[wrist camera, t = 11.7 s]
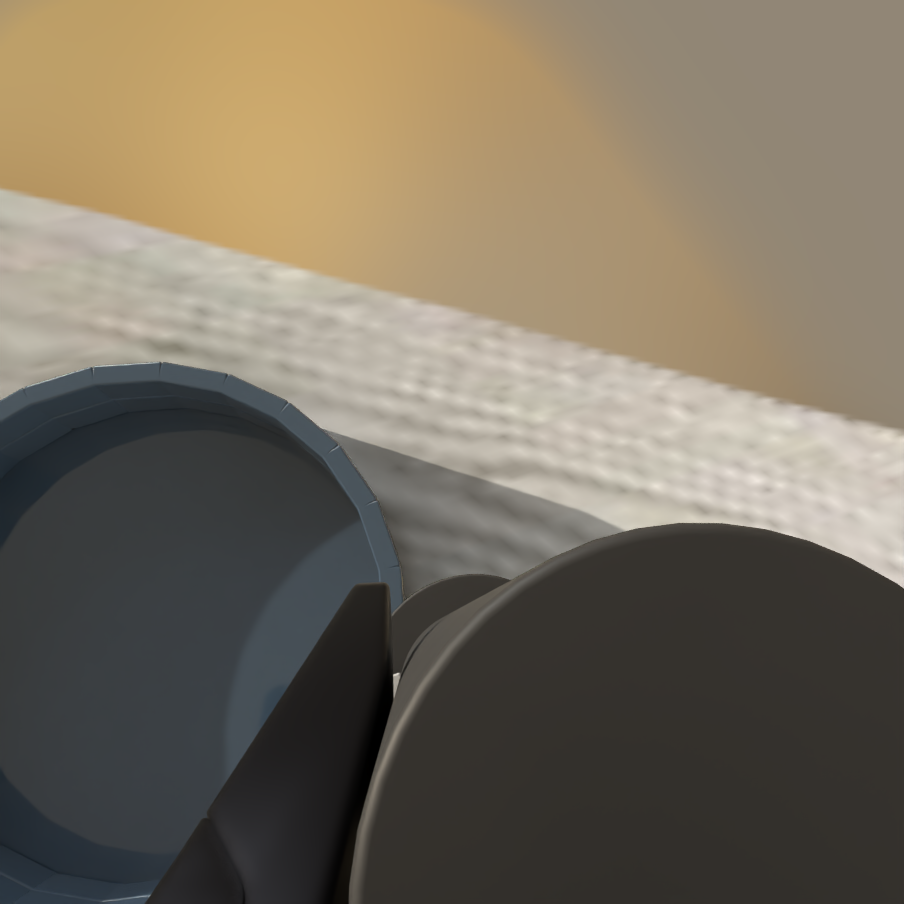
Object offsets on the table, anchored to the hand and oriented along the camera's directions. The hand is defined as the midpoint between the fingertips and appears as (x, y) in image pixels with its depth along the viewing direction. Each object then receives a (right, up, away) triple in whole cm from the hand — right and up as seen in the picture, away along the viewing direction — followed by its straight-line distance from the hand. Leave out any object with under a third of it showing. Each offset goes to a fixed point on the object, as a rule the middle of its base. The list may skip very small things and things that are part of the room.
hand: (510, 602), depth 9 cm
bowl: (-9, -3, +12) cm, 15 cm away
